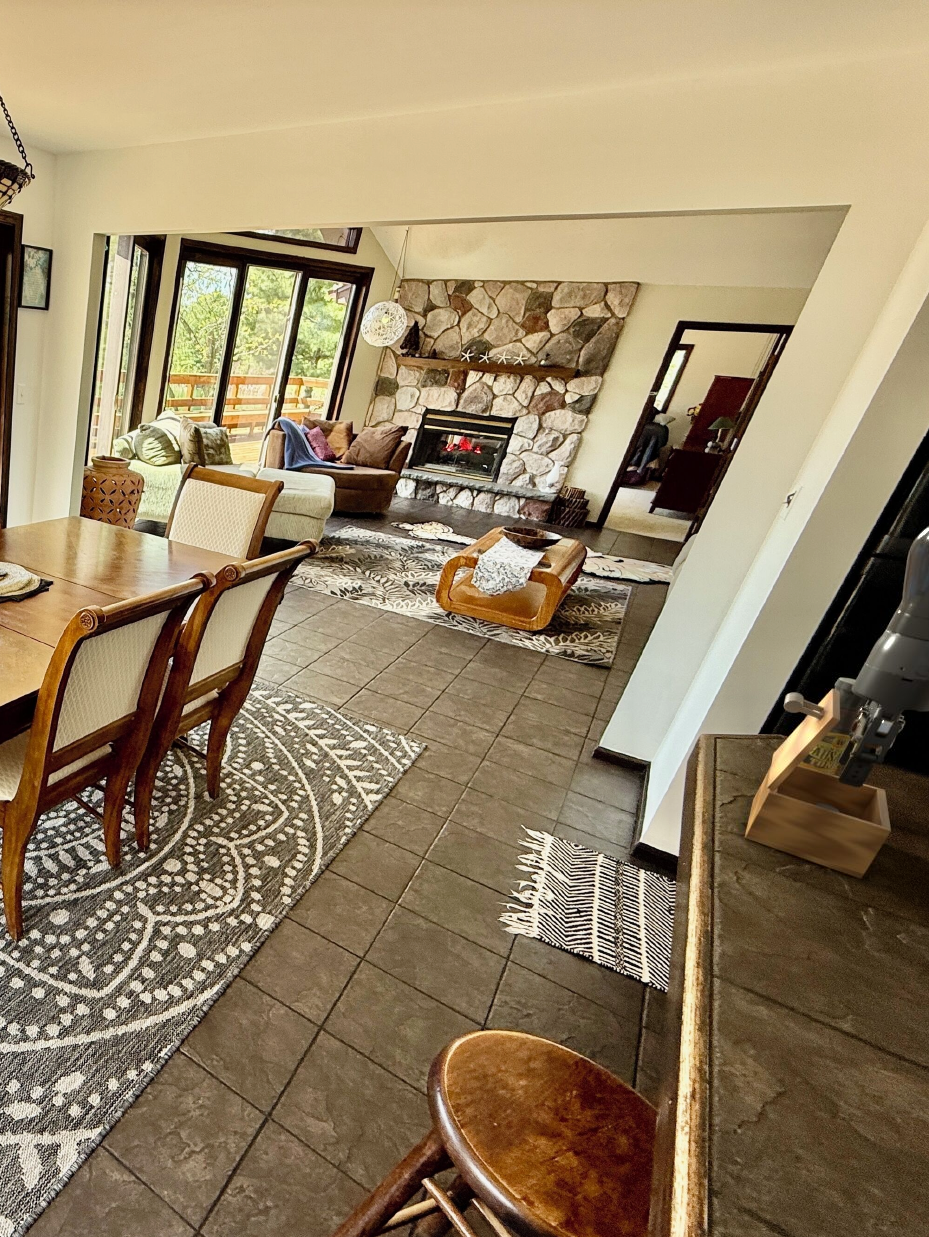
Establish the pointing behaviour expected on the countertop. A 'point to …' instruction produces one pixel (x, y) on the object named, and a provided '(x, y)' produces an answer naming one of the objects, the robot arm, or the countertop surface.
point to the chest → (821, 820)
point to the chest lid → (803, 733)
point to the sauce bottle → (836, 731)
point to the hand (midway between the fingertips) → (848, 774)
